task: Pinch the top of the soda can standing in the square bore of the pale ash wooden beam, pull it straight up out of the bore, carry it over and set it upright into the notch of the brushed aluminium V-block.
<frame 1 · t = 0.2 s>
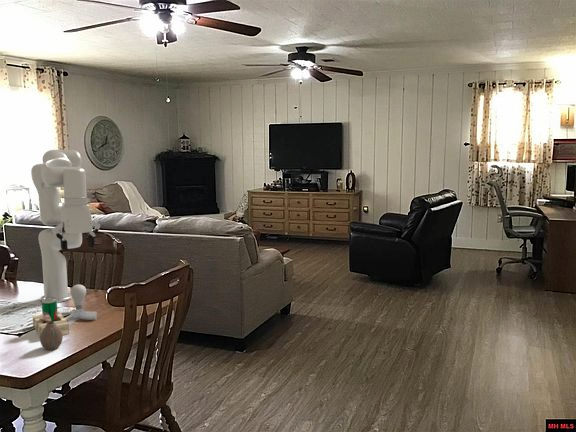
hand: (78, 249, 185), 30 cm above the table, tool pointing down, fingers open, 9 cm apart
soda can: (51, 330, 188), on the table
bore beam: (50, 329, 188), on the table
v-block: (81, 322, 197), on the table
lightbulb: (79, 310, 210), on the table
brown egg-shaped piece: (52, 348, 172), on the table
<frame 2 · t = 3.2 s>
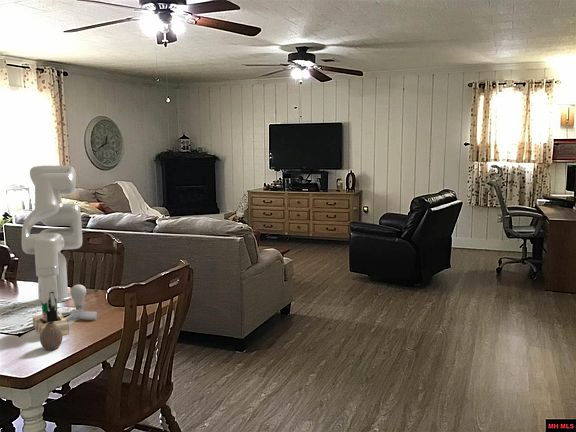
hand: (50, 318, 188), 4 cm above the table, tool pointing down, fingers closed on soda can, 5 cm apart
soda can: (50, 330, 188), on the table, touching gripper
everything else where it was.
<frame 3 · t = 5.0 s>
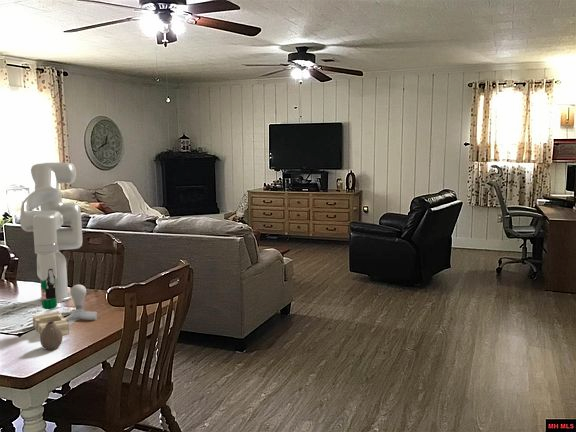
hand: (49, 295, 187), 13 cm above the table, tool pointing down, fingers closed on soda can, 5 cm apart
soda can: (49, 308, 188), point 8 cm above the table, touching gripper
everything else where it was.
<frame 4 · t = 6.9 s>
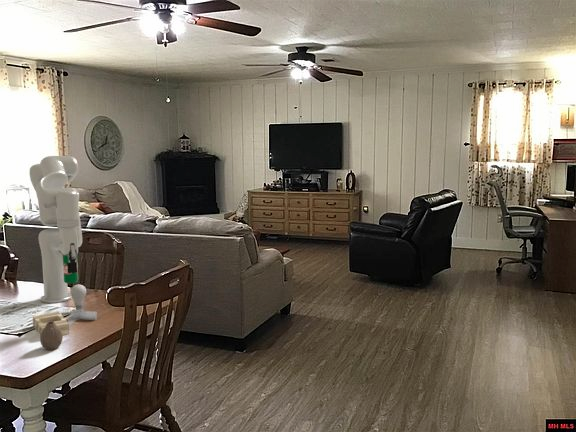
hand: (70, 270, 192), 21 cm above the table, tool pointing down, fingers closed on soda can, 5 cm apart
soda can: (71, 282, 192), point 16 cm above the table, touching gripper
everything else where it was.
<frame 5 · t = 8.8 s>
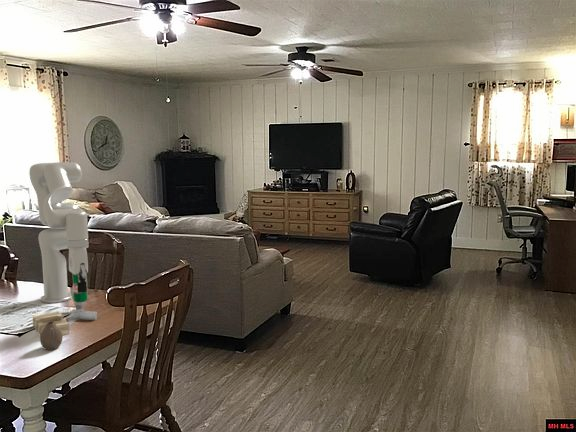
hand: (80, 289, 195), 13 cm above the table, tool pointing down, fingers closed on soda can, 5 cm apart
soda can: (80, 301, 195), point 8 cm above the table, touching gripper
everything else where it was.
when the fingers open (6 cm above the table, at t = 10.5 s): soda can drops 1 cm, on the table.
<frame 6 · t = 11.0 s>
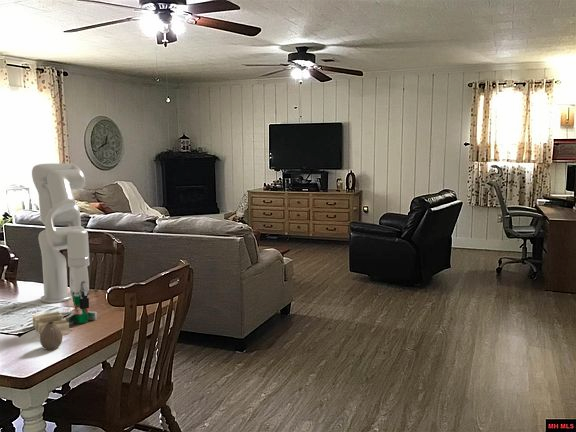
hand: (80, 305, 196), 7 cm above the table, tool pointing down, fingers open, 9 cm apart
soda can: (81, 322, 197), on the table
everything else where it was.
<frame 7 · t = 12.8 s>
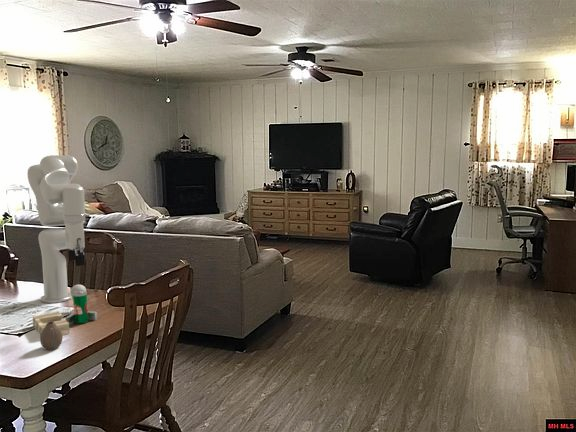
hand: (76, 262, 195), 23 cm above the table, tool pointing down, fingers open, 9 cm apart
nothing on the table moved.
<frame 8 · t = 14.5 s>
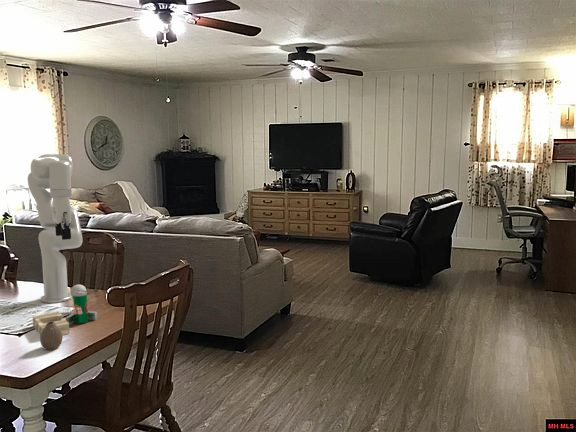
hand: (63, 237, 197), 32 cm above the table, tool pointing down, fingers open, 9 cm apart
nothing on the table moved.
at the end: soda can 0.2 cm from the v-block (horizontally); soda can tilted 0°; soda can on the table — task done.
